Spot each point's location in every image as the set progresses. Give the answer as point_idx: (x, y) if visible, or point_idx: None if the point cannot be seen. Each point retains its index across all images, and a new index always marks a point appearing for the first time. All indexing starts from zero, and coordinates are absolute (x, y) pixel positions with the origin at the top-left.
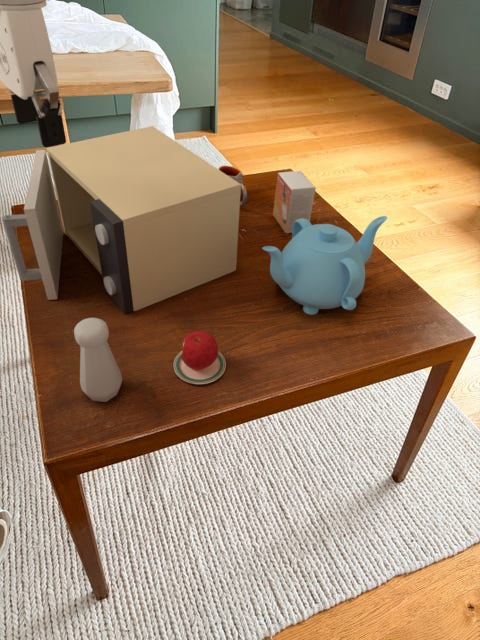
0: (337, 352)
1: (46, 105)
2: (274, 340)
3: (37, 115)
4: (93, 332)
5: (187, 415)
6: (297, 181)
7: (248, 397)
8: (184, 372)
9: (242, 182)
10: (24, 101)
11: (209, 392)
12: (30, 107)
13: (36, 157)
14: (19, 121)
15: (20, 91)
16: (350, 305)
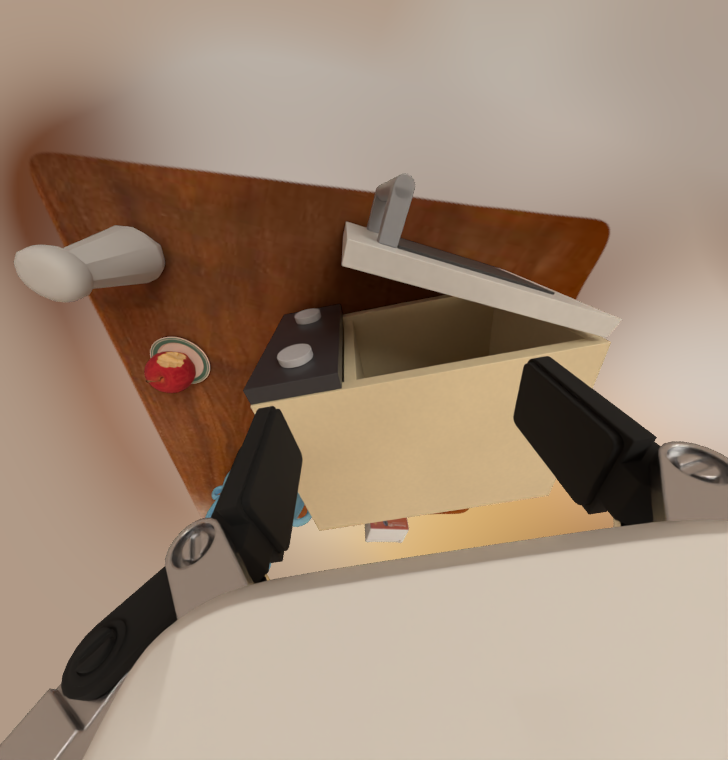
0: (192, 456)
1: (81, 652)
2: (214, 425)
3: (523, 431)
4: (22, 279)
5: (109, 327)
6: (382, 536)
7: (137, 383)
8: (171, 344)
9: None
10: (576, 452)
11: (144, 356)
12: (549, 443)
13: (586, 313)
14: (529, 366)
15: (131, 713)
16: (212, 493)
